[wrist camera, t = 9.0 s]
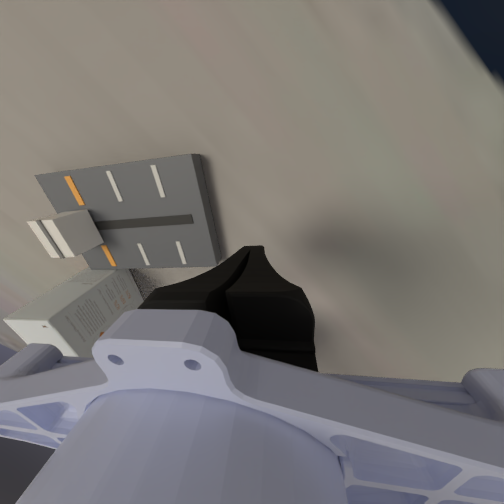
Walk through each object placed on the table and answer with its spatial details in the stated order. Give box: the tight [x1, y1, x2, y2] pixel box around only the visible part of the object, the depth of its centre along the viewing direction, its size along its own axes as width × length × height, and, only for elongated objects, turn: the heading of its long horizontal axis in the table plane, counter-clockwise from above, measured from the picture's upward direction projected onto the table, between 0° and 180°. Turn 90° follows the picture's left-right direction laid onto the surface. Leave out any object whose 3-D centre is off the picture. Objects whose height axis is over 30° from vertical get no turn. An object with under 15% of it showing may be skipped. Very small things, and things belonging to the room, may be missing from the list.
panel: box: [35, 154, 221, 270], centre depth 22 cm, size 12×18×2 cm, turn 96°
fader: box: [27, 210, 104, 258], centre depth 20 cm, size 4×3×4 cm
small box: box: [3, 267, 144, 358], centre depth 24 cm, size 8×6×10 cm
